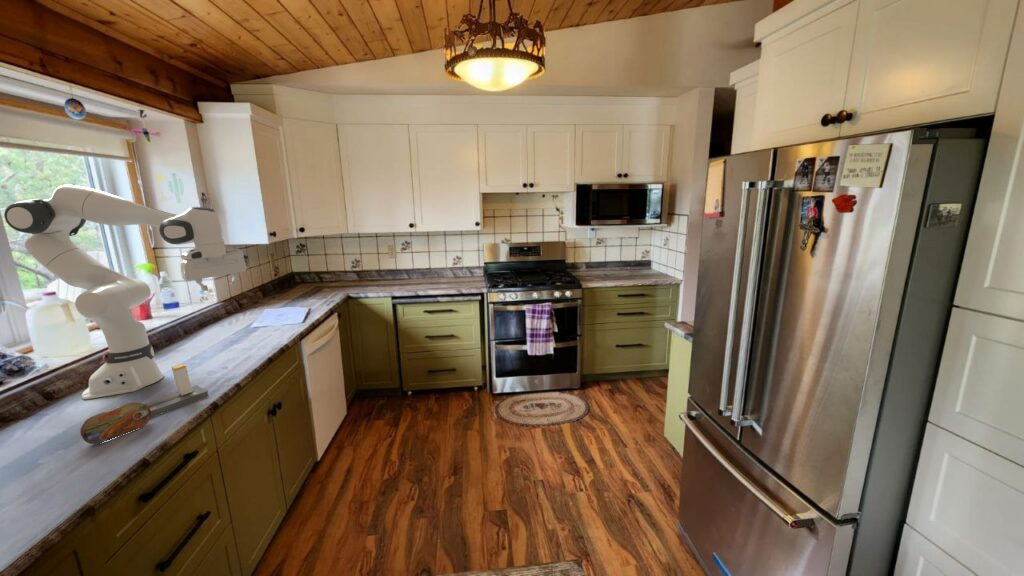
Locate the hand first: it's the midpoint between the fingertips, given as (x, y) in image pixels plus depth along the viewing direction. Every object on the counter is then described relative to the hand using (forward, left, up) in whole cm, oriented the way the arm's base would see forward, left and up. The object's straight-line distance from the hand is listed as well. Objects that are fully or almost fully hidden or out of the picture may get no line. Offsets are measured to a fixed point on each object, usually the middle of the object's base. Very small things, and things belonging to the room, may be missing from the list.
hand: (219, 287), depth 154 cm
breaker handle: (-14, -17, -32) cm, 39 cm away
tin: (-28, -33, -34) cm, 55 cm away
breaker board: (-18, -19, -34) cm, 43 cm away
